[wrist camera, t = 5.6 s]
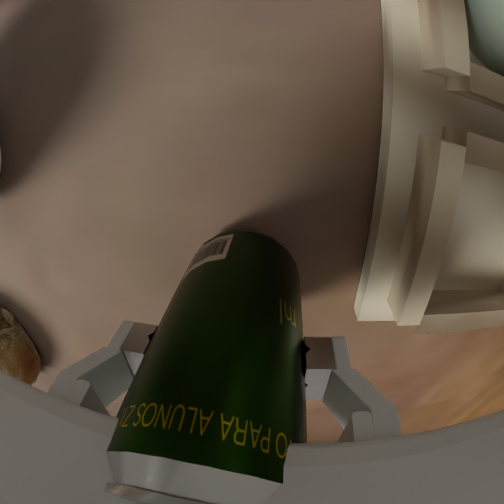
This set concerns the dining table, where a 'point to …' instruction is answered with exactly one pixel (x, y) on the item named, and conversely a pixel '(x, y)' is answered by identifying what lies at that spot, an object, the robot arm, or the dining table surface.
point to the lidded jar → (0, 160)
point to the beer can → (217, 382)
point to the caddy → (436, 178)
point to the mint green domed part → (486, 32)
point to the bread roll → (17, 350)
